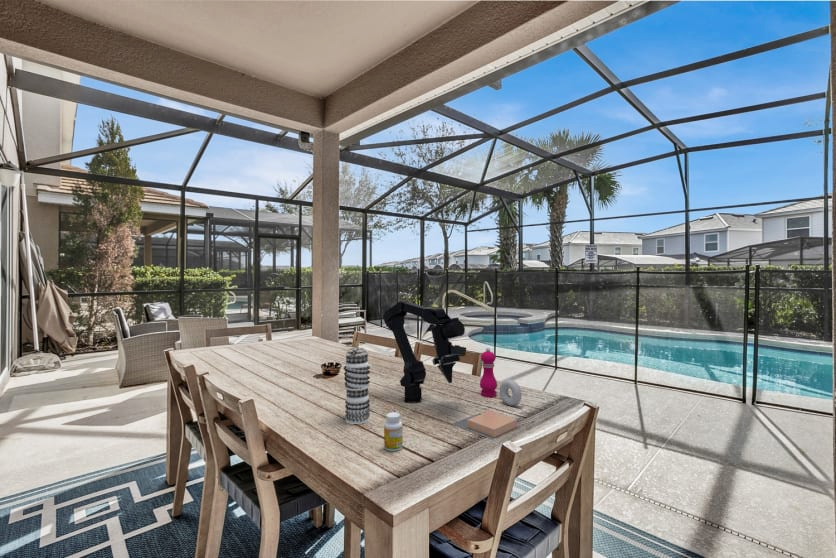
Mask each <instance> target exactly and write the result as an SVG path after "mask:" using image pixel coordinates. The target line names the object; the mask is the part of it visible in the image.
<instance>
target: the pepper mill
mask: <svg viewBox="0 0 836 558" xmlns="http://www.w3.org/2000/svg"><path fill="white" fill-rule="evenodd" d="M480 359H481V361H482V363H481V364H482V365H481V366H482V367H483V368H482V369H483V371H482V372H483V374H482V376H481V378H480V381H479V387H480V389H481V391H480V396H482V397H483V396H484V398H495V397H496V396H497V391H496V390H497V388H498V382H497V380H496V377H495V374H494V367H495V361H496V354H495V353H494V352H493V351H491V348H490V347H487V348H485V351H483V352H482V353H481V356H480Z"/></svg>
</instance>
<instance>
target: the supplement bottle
mask: <svg viewBox="0 0 836 558" xmlns="http://www.w3.org/2000/svg"><path fill="white" fill-rule="evenodd" d="M385 417H386V418H385V422H384V424H383V433H384V435H383V440H384V442H383V445H384V449H385V450H386V451H387V452H399V451H401V450H402V448H403V446H404V445H403V444H404V443H403V440H404V437H403V422H402V421H401V414H400V413H399V412H393V411H392V412H389V413H387V414H386V416H385Z"/></svg>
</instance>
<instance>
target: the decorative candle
mask: <svg viewBox="0 0 836 558" xmlns="http://www.w3.org/2000/svg"><path fill="white" fill-rule="evenodd" d="M344 355H345V356H346V357H345V360H346V361H345V365H344V366H343V371H344V381H345V382H344V388H345V389H346V395H345V402H344V403H345V406H344V407H345V423H347V422H348V423H350V424H349V425H353V424H358V425H363V424H362V423H364V424H366V423H368V422H369V421H370V420H371V418H370V415H371V414H370V411H371V410H370V406H371V405H370V401H371V400H370V398H369V396H370V395H369V387H370V383H371V381H370V380H369V379H370V376H368V375H369V374H370V373H371V371H370V369H371V366H369V360H368V358H369V356H368V355H369V352H368V351H367V350H366V349H365V348H363V347H352V348H349V349H348V350H347V352H346V353H344ZM348 423H347V424H348Z"/></svg>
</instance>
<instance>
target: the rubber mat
mask: <svg viewBox="0 0 836 558" xmlns="http://www.w3.org/2000/svg"><path fill="white" fill-rule="evenodd" d="M480 414H483V413H481V412H479V413H477V414H474V415H471V416H469V417H466V418H463V419H462V420H459V421H456V422H453V423H452V425H454V426H456V427H458V428H461V429H463V430H466V431H468V432H471V433H474V434H477V435H478V436H482V437H484V438H486V439H489V440H492V441H493V440H495V439H497V438H500V437H502V436H503V435H506V434H508V433H510V432H512V431H514V430H516V429H518V428H521V425H518V424H517V427H516V428H514V429H512V430H510V431H507V432H505V433H503V434H501V435H499V436H497V437H491V436H489V435H486V434H483V433H481V432H478V431H476V430H473V429H470V428H468V427H467V419H470V418H473V417H475V416H478V415H480Z"/></svg>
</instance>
